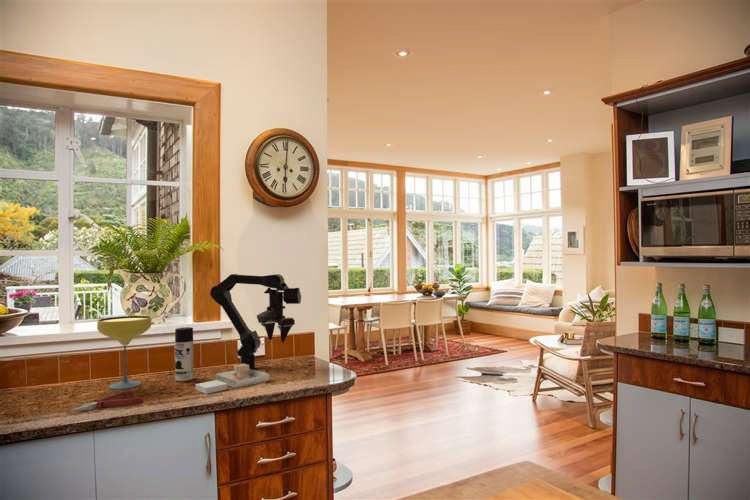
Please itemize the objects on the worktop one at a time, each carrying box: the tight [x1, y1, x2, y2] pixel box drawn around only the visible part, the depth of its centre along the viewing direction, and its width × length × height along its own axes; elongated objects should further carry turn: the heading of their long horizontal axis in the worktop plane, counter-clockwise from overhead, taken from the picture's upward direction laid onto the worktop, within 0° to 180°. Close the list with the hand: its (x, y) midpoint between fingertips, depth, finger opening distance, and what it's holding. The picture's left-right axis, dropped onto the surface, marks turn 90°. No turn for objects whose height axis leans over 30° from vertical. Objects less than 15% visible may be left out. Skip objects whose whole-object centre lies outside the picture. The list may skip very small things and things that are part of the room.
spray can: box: [174, 326, 194, 382], centre depth 188 cm, size 7×7×20 cm
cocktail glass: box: [96, 315, 152, 390], centre depth 180 cm, size 18×18×25 cm
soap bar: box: [195, 379, 228, 395], centre depth 172 cm, size 8×8×2 cm
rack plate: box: [214, 369, 270, 389], centre depth 185 cm, size 16×14×3 cm
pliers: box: [67, 390, 144, 413], centre depth 155 cm, size 12×20×3 cm, turn 134°
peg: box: [233, 363, 249, 377], centre depth 185 cm, size 4×4×6 cm
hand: (276, 340), depth 203 cm, fingers open, 9 cm apart
